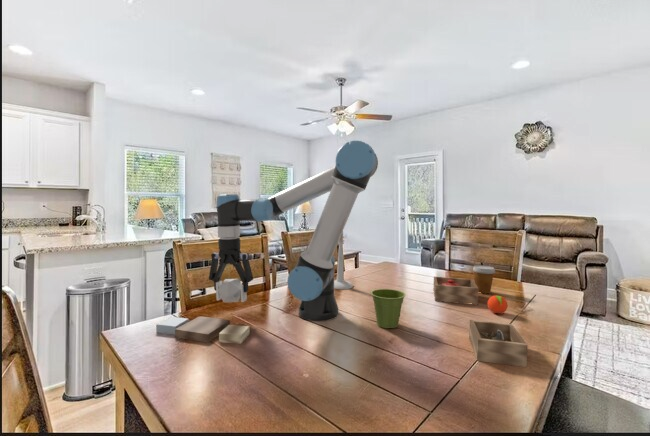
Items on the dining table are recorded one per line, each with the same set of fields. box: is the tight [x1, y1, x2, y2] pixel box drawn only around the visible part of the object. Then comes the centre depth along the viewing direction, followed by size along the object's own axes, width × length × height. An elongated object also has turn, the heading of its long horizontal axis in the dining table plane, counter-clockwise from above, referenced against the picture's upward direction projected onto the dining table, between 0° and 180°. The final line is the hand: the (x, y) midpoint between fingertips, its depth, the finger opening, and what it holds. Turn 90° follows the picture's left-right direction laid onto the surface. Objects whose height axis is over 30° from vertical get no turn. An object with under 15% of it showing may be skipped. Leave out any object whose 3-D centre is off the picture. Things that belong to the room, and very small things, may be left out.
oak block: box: [218, 324, 250, 344], centre depth 104 cm, size 7×7×3 cm
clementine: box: [487, 294, 509, 314], centre depth 128 cm, size 8×7×7 cm
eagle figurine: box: [479, 330, 504, 341], centre depth 95 cm, size 8×8×10 cm
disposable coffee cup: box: [472, 264, 496, 294], centre depth 156 cm, size 10×10×12 cm
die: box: [218, 278, 242, 303], centre depth 118 cm, size 8×9×10 cm
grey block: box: [155, 316, 190, 336], centre depth 110 cm, size 7×7×3 cm
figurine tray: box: [468, 319, 528, 368], centre depth 96 cm, size 12×15×6 cm
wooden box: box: [433, 276, 479, 305], centre depth 148 cm, size 17×16×7 cm
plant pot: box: [370, 288, 406, 329], centre depth 115 cm, size 12×12×11 cm
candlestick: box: [334, 231, 354, 291], centre depth 164 cm, size 13×13×30 cm
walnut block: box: [174, 315, 231, 343], centre depth 108 cm, size 12×12×3 cm
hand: (231, 300), depth 119 cm, fingers closed on die, 9 cm apart
